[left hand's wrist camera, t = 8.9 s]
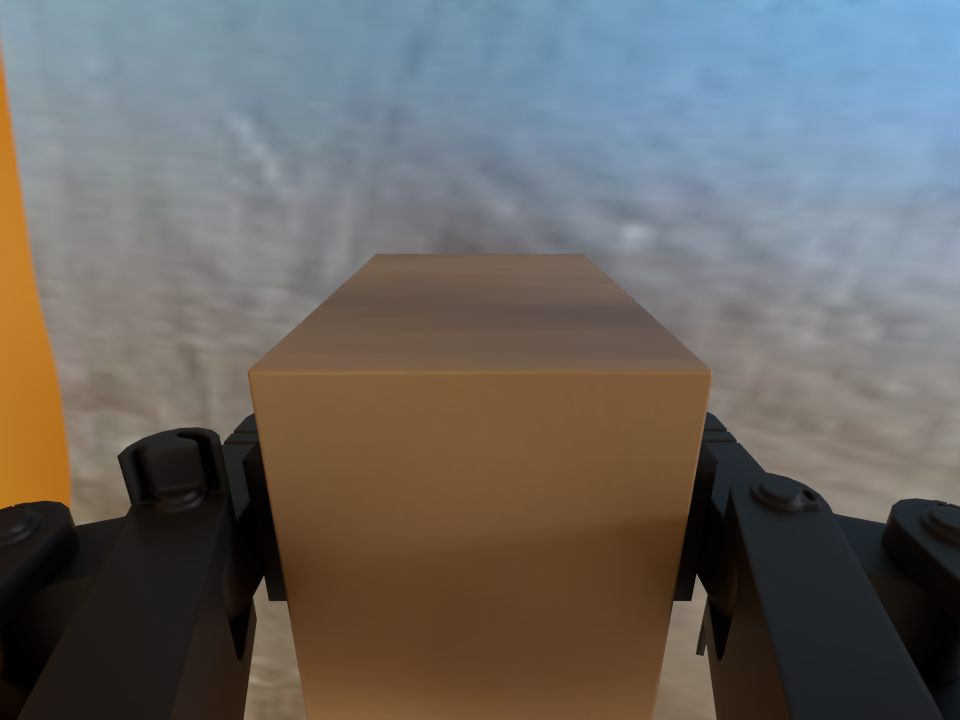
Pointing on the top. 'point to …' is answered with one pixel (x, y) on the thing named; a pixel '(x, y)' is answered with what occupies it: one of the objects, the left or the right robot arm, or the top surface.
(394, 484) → the bar
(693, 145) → the top surface
